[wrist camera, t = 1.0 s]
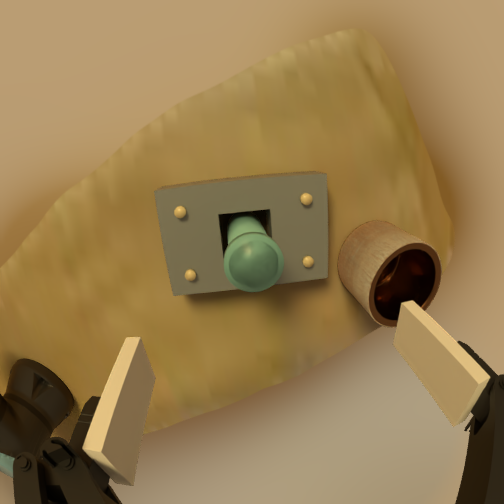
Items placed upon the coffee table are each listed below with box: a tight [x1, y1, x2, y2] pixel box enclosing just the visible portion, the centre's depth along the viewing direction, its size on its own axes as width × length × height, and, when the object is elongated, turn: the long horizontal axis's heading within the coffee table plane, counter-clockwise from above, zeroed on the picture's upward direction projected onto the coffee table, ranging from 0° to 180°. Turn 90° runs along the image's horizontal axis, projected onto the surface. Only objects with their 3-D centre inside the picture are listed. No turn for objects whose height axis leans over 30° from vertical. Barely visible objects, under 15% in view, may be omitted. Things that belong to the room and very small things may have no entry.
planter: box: [338, 221, 442, 328], centre depth 33 cm, size 11×11×10 cm
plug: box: [224, 211, 284, 292], centre depth 28 cm, size 5×5×12 cm
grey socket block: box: [154, 171, 328, 296], centre depth 32 cm, size 18×12×5 cm, turn 95°
